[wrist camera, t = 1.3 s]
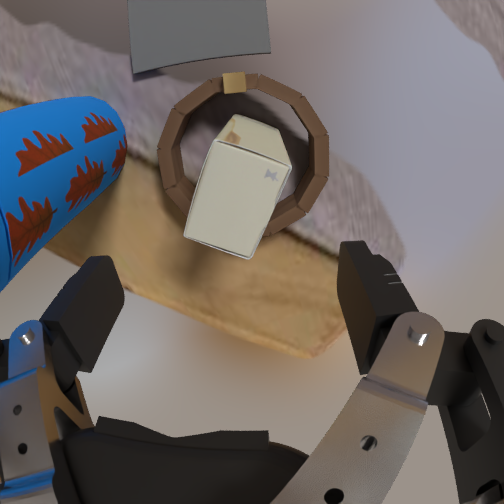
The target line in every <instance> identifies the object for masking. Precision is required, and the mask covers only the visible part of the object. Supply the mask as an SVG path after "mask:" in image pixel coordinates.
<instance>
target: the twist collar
mask: <svg viewBox="0 0 504 504" xmlns="http://www.w3.org/2000/svg"><path fill="white" fill-rule="evenodd" d="M246 89H258V90H261V91H263V92H265V93H267V94H269V95H272V96H274V97H276V98H278V99H280V100H282V101H284V102H286V103H288V104H290V106H291V107H292V109H293V110H294V112H295V113H296V115H297V116H298V118H299V119H300V121H301V122H302V124H303V125H304V127H305V128H306V129H307V131H308V140H309V167H308V169H307V170H306V172H305V174H304V176H303V178H302V179H301V181H300V183H299V185H298V186H297V188H296V190H295V192H294V194H292V195H290V196H289V197H287V198H285V199H284V200H282V201H280V202H279V203H277V204H276V206H275V208H274V211H273V213H272V215H271V217H270V220H269V222H268V224H267V226H266V228H265V231H264V233H263V235H262V236H270V232H271V234H272V235H273V234H275V233H276V232H278V231H280V230H282V229H283V228H285V227H287V226H288V225H290V224H292V223H293V222H295V221H297V220H299V219H300V218H302V217H304V216H305V215H306V213H305V212H307V213H308V212H309V211H310V209H311V207H312V206H313V204H314V202H315V201H316V199H317V197H318V196H319V194H320V192H321V191H322V189H323V187H324V186H325V184H326V182H327V180H328V178H327V177H326V176H329V135H327V134H326V133H327V130H326V129H325V127H324V126H323V124H322V123H321V121H320V120H319V118H318V116H317V114H316V113H315V111H314V110H313V108H312V107H311V105H310V104H309V102H308V101H307V99H306V98H305V96H301V95H302V94H301V93H299V92H297V91H295V90H293V89H291V88H289V87H287V86H285V85H283V84H281V83H279V82H277V81H275V80H273V79H270V78H268V77H266V76H263V75H260V77H259V79H258V74H247V75H245V72H235V73H226V74H223V77H219V78H212V80H207V81H206V82H205V83H203V84H202V85H201V86H199V87H198V88H196V89H195V90H194V91H192V92H191V93H190V94H188V95H187V96H186V97H185V98H183V99H182V100H181V101H179V102H178V103H177V104H176V105H174V107H175V108H172V109H171V112H170V114H169V117H168V119H167V122H166V124H165V127H164V130H163V132H162V135H161V138H160V140H159V143H158V146H157V147H158V148H159V149H157V154H158V160H159V166H160V171H161V177H162V182H163V187H164V189H167V190H166V191H165V192H166V193H167V194H168V196H169V197H170V198H171V199H172V200H173V202H174V203H175V204H176V205H177V206H178V207H179V209H180V210H181V211H182V212H183V213H184V215H185V216H186V217H187V218H188V214H189V210H190V206H191V203H192V199H193V196H194V192H195V188H194V186H193V185H192V184H191V183H190V181H189V180H188V179H187V178H186V176H185V175H184V169H183V163H182V157H181V150H180V141H181V138H182V136H183V134H184V131H185V129H186V126H187V124H188V121H189V119H190V117H191V114H192V113H193V112H194V111H195V110H197V109H198V108H199V107H201V106H202V105H203V104H205V103H206V102H207V101H209V100H210V99H211V98H213V97H214V96H216V95H217V94H219V93H220V92H225V94H227V93H237V92H246V91H247V90H246Z"/></svg>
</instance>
